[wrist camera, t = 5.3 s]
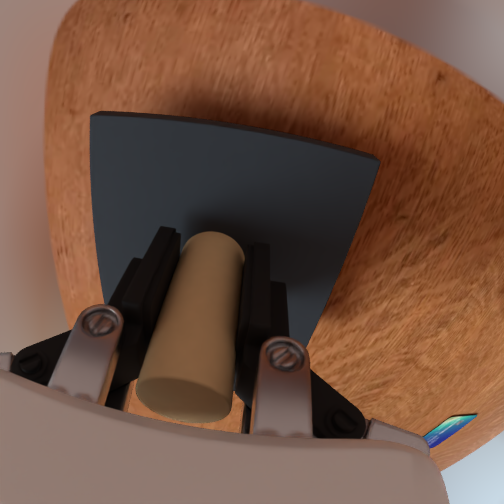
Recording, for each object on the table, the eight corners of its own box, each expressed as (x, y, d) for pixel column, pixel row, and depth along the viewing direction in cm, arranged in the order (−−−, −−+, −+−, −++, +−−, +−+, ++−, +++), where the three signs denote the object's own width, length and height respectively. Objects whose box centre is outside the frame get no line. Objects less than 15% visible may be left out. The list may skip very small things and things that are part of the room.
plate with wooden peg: (112, 310, 15) (63, 426, 9) (100, 110, 10) (-47, 189, 4) (302, 342, 16) (311, 470, 10) (374, 154, 10) (482, 276, 4)
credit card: (433, 447, 29) (433, 447, 29) (404, 450, 29) (404, 450, 29) (478, 414, 25) (478, 415, 25) (450, 416, 24) (450, 417, 24)
